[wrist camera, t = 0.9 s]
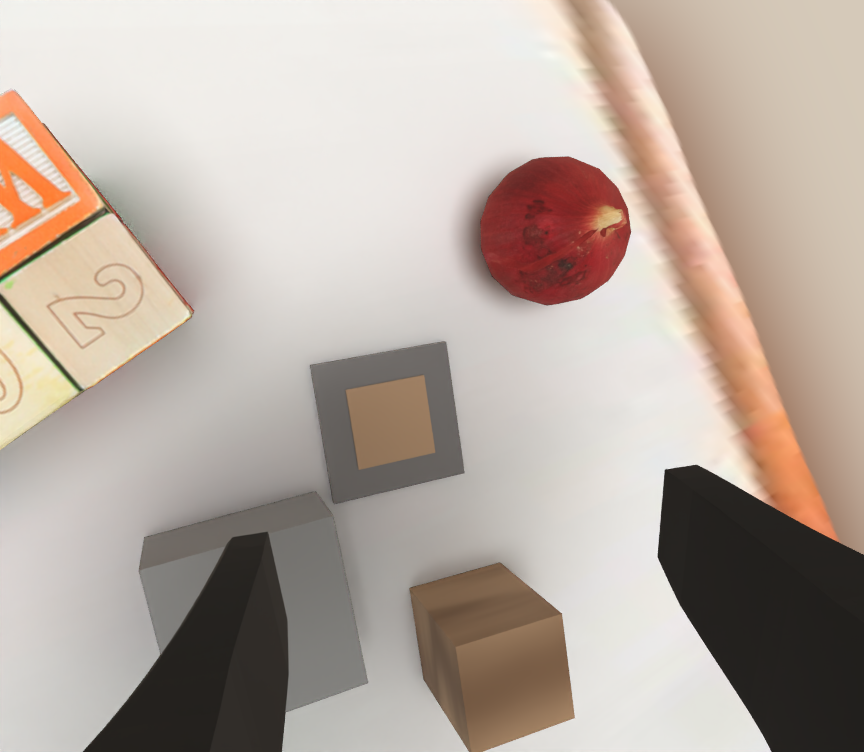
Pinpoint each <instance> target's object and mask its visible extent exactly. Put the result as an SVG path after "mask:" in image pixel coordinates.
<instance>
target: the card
mask: <svg viewBox="0 0 864 752" xmlns="http://www.w3.org/2000/svg"><path fill="white" fill-rule="evenodd" d="M310 368H311V374H312V380H313V386H314V392H315V398H316V404H317V410H318V415H319V421H320V427H321V433H322V439H323V445H324V451H325V457H326V463H327V469H328V475H329V481H330V486H331V492H332V498H333V503H334V504H337V503H341V502H345V501H349V500H353V499H358V498H362V497H366V496H370V495H374V494H379V493H383V492H387V491H391V490H395V489H400V488H404V487H408V486H412V485H416V484H421V483H425V482H429V481H433V480H437V479H442V478H446V477H450V476H454V475H458V474H463V473H464V466H463V459H462V451H461V444H460V437H459V430H458V423H457V416H456V409H455V402H454V395H453V387H452V380H451V373H450V366H449V359H448V352H447V345H446V342H438V343H432V344H427V345H421V346H416V347H410V348H404V349H399V350H393V351H387V352H382V353H376V354H371V355H365V356H359V357H354V358H348V359H342V360H337V361H331V362H326V363H320V364H314V365H310Z"/></svg>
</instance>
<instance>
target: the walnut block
mask: <svg viewBox="0 0 864 752" xmlns="http://www.w3.org/2000/svg"><path fill="white" fill-rule="evenodd" d="M409 589H410V595H411V601H412V608H413V614H414V621H415V627H416V633H417V640H418V646H419V653H420V659H421V666H422V672H423V678H424V681H425V682H426V684H427V686H428V687H429V689H430V690H431V692H432V694H433V695H434V697H435V698H436V700H437V701H438V703H439V705H440V706H441V708H442V709H443V711H444V713H445V714H446V716H447V717H448V719H449V720H450V722H451V724H452V725H453V727H454V728H455V730H456V732H457V733H458V735H459V736H460V738H461V739H462V741H463V743H464V744H465V746H466V747H467V749H468V751H469V752H483V751H485V750H488V749H491V748H494V747H496V746H499V745H502V744H505V743H507V742H510V741H513V740H516V739H518V738H521V737H524V736H527V735H529V734H532V733H535V732H538V731H540V730H543V729H546V728H548V727H551V726H554V725H557V724H559V723H562V722H565V721H568V720H570V719H573V718H575V716H574V708H573V700H572V692H571V684H570V675H569V667H568V659H567V651H566V643H565V635H564V627H563V619H562V613H560V612H559V611H558V610H557V609H556V608H554V607H553V606H552V605H551V604H550V603H548V602H547V601H546V600H545V599H544V598H542V597H541V596H540V595H539V594H537V593H536V592H535V591H534V590H533V589H531V588H530V587H529V586H528V585H527V584H525V583H524V582H523V581H522V580H521V579H519V578H518V577H517V576H516V575H515V574H513V573H512V572H511V571H510V570H508V569H507V568H506V567H505V566H504V565H502V564H501V563H496V564H493V565H489V566H486V567H482V568H479V569H475V570H472V571H468V572H465V573H461V574H457V575H454V576H450V577H447V578H443V579H440V580H436V581H433V582H429V583H426V584H422V585H418V586H415V587H411V588H409Z"/></svg>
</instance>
